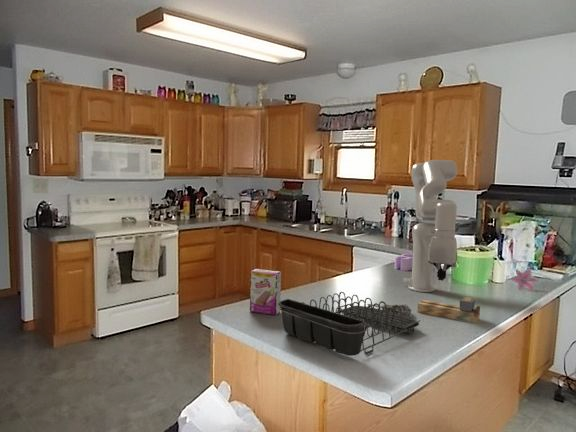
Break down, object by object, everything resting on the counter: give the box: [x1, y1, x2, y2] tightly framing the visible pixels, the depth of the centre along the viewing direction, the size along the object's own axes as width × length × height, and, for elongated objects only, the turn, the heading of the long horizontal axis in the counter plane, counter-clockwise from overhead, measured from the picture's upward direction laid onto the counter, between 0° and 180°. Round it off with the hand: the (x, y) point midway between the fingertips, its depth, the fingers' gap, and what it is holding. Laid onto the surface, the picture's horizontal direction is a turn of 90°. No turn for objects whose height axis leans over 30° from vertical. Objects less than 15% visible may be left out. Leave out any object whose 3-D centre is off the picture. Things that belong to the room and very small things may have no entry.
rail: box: [417, 299, 481, 324], centre depth 175 cm, size 22×6×5 cm, turn 58°
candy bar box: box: [249, 268, 282, 316], centre depth 174 cm, size 11×5×16 cm, turn 71°
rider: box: [459, 296, 476, 312], centre depth 171 cm, size 4×6×5 cm
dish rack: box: [278, 291, 421, 357], centre depth 154 cm, size 34×44×12 cm
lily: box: [509, 267, 539, 293], centre depth 219 cm, size 12×12×10 cm
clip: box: [394, 253, 413, 271], centre depth 262 cm, size 20×12×7 cm, turn 131°
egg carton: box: [381, 303, 412, 318], centre depth 175 cm, size 11×8×4 cm
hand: (441, 279), depth 177 cm, fingers closed
